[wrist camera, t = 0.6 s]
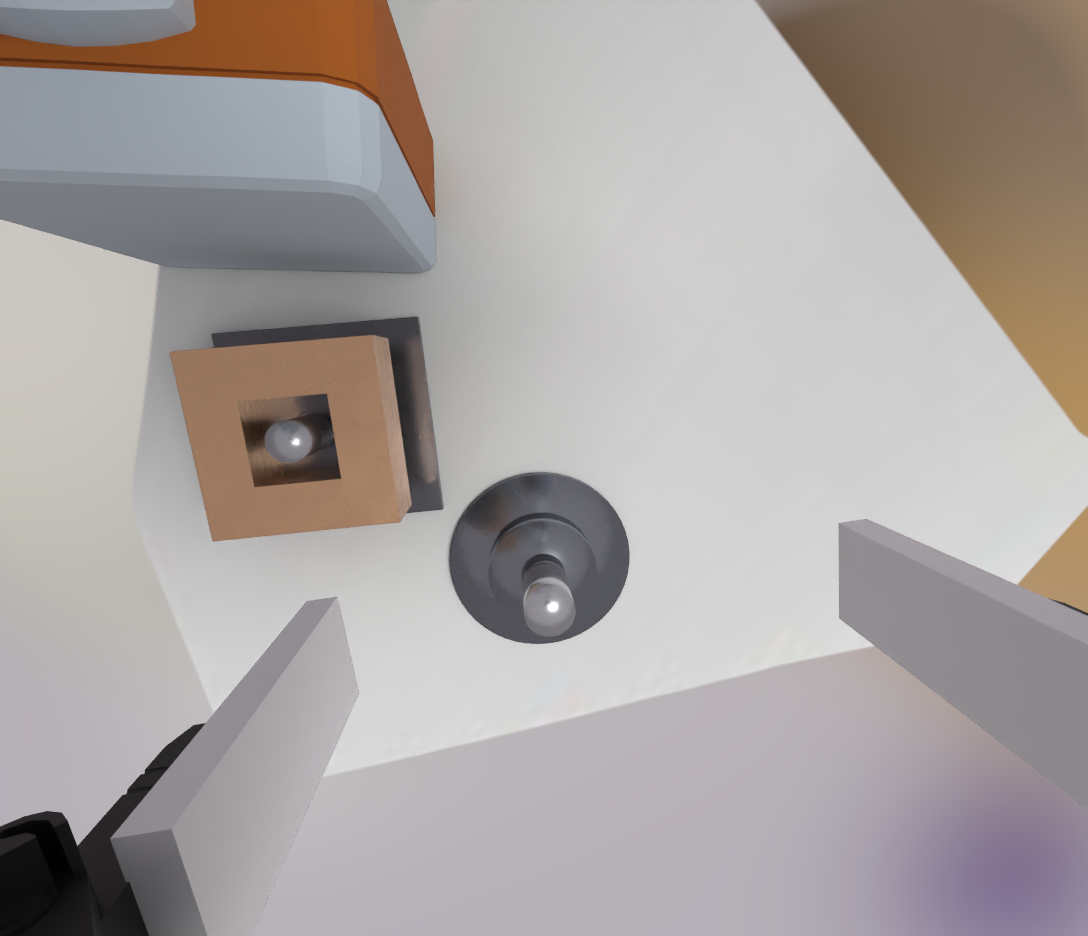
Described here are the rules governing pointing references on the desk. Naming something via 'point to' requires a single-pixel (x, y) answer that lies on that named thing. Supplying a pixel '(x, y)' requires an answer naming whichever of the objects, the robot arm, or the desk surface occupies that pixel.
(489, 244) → the desk surface
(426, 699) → the desk surface
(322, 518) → the brown square ring block
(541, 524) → the hub
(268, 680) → the robot arm
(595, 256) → the desk surface
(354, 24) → the grey rounded upright slab
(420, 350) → the stand
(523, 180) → the desk surface
